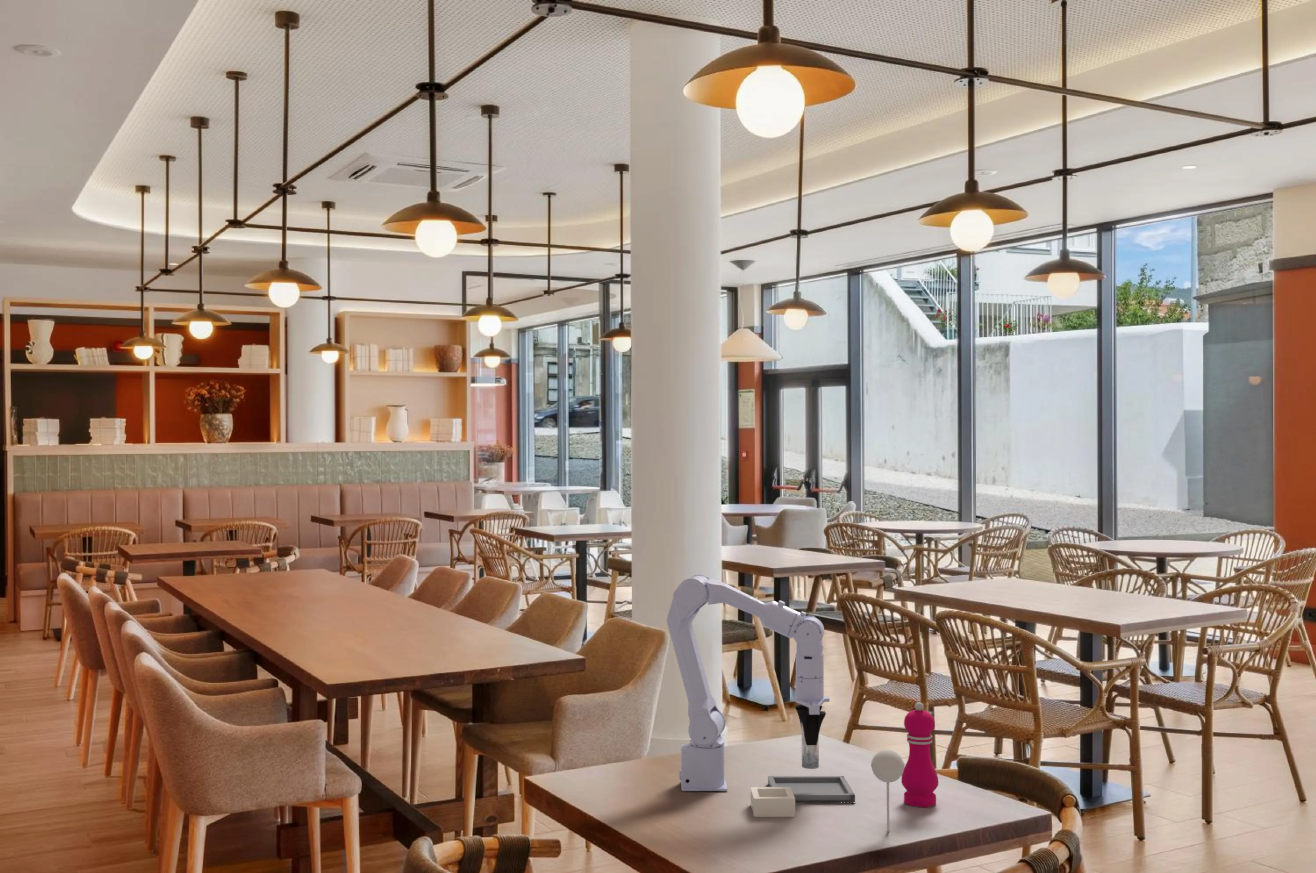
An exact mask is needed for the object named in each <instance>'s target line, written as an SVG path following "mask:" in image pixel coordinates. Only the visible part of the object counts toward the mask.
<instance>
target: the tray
mask: <svg viewBox="0 0 1316 873" xmlns="http://www.w3.org/2000/svg"><path fill="white" fill-rule="evenodd" d="M767 784H769V785H768V787H790V788H791V790H792V792H793V795H794V797H795V804H854V803H853V802H855V803H856V795H855V793H854V791H853V789H852V787H851V786H850V784H849V783H848V781H847V780H846V777H845V776H844V775H788V776H787V775H768V777H767ZM841 802H842V803H841ZM844 802H845V803H844ZM847 802H849V803H847ZM850 802H852V803H850Z"/></svg>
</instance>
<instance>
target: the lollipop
mask: <svg viewBox="0 0 1316 873" xmlns="http://www.w3.org/2000/svg"><path fill="white" fill-rule="evenodd" d="M870 762H871V763H870V767H871V770H872V772H873V775H874V776H875V777H876V778H877V779H878V780H879V781H880V782H884V783H886V833H890V831H891V830H890V783H894V782H896V781H898V780H899V779H901V778H902V774H903V771H904V768H905V762H904V760H903V758H902V756H901V754H899V753H898V752H897V751H895V750H892V749H886V748H885V749H881V750H879V751H878V752H876V753H875V754H874V755H873V757H872V760H871V761H870Z"/></svg>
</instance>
